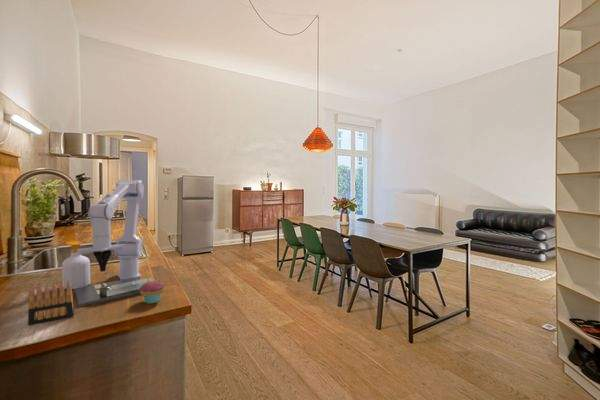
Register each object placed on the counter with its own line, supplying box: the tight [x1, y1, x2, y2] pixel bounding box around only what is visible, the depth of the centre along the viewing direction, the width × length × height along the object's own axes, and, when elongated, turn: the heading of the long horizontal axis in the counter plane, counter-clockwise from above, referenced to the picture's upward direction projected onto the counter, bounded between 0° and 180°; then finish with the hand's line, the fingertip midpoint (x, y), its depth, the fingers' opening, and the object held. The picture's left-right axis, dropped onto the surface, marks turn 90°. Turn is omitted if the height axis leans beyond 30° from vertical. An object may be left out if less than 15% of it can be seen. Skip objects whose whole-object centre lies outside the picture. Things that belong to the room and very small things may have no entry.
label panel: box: [74, 277, 141, 308], centre depth 112 cm, size 18×22×2 cm
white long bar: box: [99, 276, 155, 298], centre depth 110 cm, size 18×4×3 cm, turn 135°
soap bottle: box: [61, 226, 91, 290], centre depth 117 cm, size 9×9×25 cm
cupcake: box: [139, 269, 166, 304], centre depth 104 cm, size 9×8×12 cm
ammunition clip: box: [27, 280, 75, 327], centre depth 89 cm, size 11×2×12 cm, turn 125°
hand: (102, 270), depth 109 cm, fingers closed
